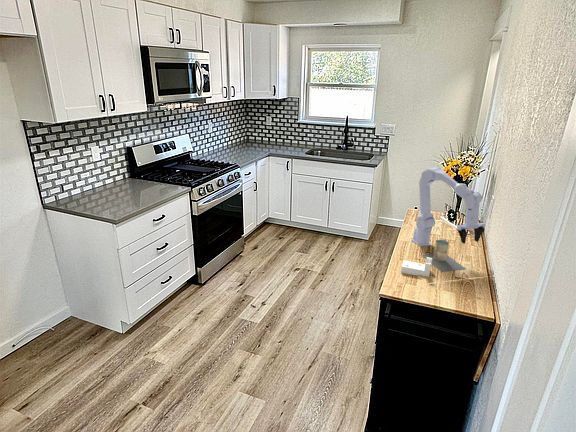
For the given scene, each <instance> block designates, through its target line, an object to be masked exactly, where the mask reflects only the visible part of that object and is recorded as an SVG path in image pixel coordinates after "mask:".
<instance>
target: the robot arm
mask: <svg viewBox="0 0 576 432" xmlns="http://www.w3.org/2000/svg"><path fill="white" fill-rule="evenodd" d="M434 181H442V182H443V183H444V184H445V185H447V186H449V187H450V188H452V189H453V192H454V193H455V194H456V195H458V196H459V197H460V198H461V199H463V200H464V203H465V205H466V210H465V219H464V223H463V224H460V225H457V227H456V230H457V231H456V232H458V234H459V237H460V242H461V243H462V244H466V240H467V235H468V233H469V232H468V231H467V230H471V229H473V233H474V238H473V239H474V242H476V243H477V242H479V241H480V238H481V236H482V234H484V233H483V232H485V229H486V228H485V227H486V223H484V222H479V213H480V203H481V202H482V201H483V195H482V194H481V193H480V192H479V191H475V190H473V189H471V188H470V187H468V186H467V184H466V183H461V182H460V183H458V181H456V180H455V179H454V178H453V177H452V176H450V175H449V174H447V173H446V171H445V170H444V169H442V168H441V167H440V166H436V167H431V168H425V170H423V171H422V172H421V177H420V179H419V182H418V184H419V185H418V186H419V187H418V188H419V208H420V213H419V214H418V216H417V219H416V220H417V221H416V222H415V223H416V224H415V225H416V227H415V228H414V231H413V236H412V239H411V241H412V242H413V243H415V244H417V245H418V246H419V247H424V246H433V244H432V243H431V242H430V241H431V237H432V235H431V234H432V229H433V227H435V224H436V220H435V218H434V214H433V213H432V209H431V207H432V205H431V184H433V183H434Z"/></svg>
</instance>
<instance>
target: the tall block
mask: <svg viewBox="0 0 576 432" xmlns="http://www.w3.org/2000/svg"><path fill="white" fill-rule="evenodd" d="M449 244H450V243H449V241H447V240H446V239H436V240H435V244H434V250H433V251H434V252H433V254H434V255H433V258H434V259H436V260H437V261H446V256H447V255H448V249H449Z"/></svg>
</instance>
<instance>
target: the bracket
mask: <svg viewBox="0 0 576 432" xmlns="http://www.w3.org/2000/svg"><path fill="white" fill-rule="evenodd" d="M431 262H432V258H429V257H427V258H426V259H425V263H419V262H414V261H410V260H405V259H404V260H402V264H401V267H400V268H401V269H400V273H402V274H408V275H413V276H417V277H419V276H423V277H429V278H430V274H431V268H432V267H431V266H432V264H431Z"/></svg>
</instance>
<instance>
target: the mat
mask: <svg viewBox="0 0 576 432" xmlns="http://www.w3.org/2000/svg"><path fill="white" fill-rule="evenodd" d="M433 255H434V253H426V254H420V256H421V257H422V258H423V259H425V260H426V258H427V257H429V258H432V262H431V266H433V267H434V268H436V269H437V270H439V271H440V272H441V273H445V272H455V271H464V270H467V268H466V267H465V266H463V265H462V264H460V263H459V262H458V261H456V260H455V259H453V257H450V256H449V255H448V254H447V256H446V261H437V260H436V259H434V258H433Z"/></svg>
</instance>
